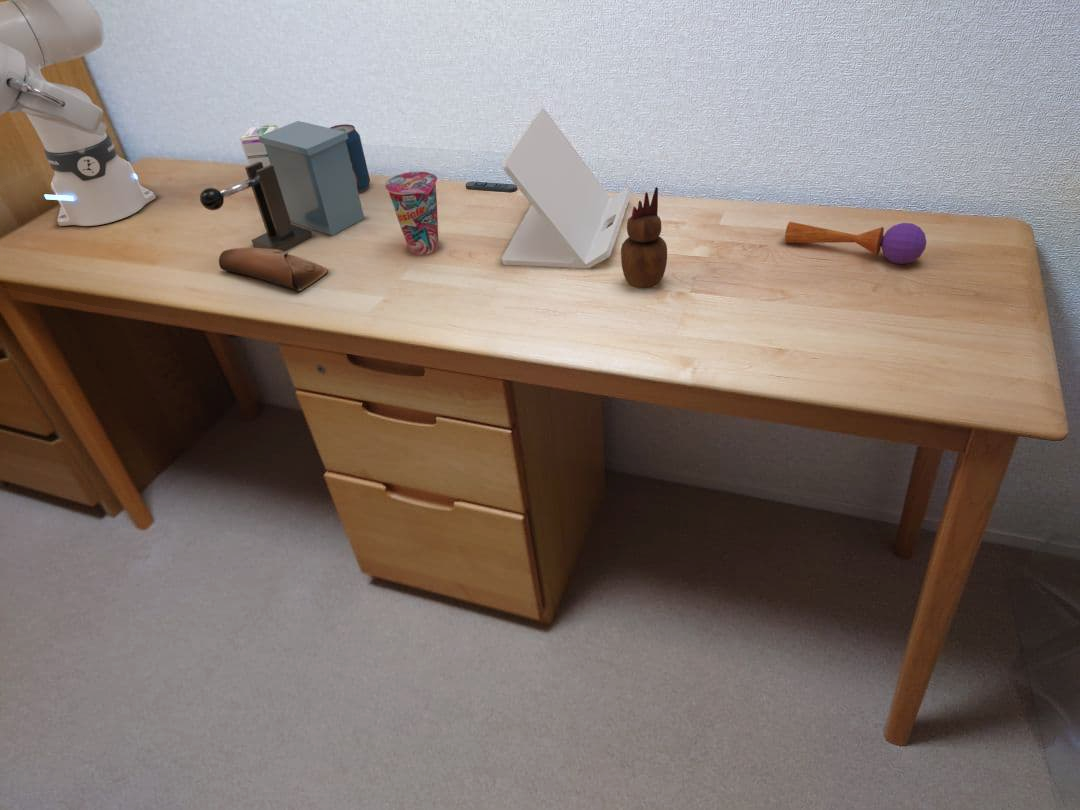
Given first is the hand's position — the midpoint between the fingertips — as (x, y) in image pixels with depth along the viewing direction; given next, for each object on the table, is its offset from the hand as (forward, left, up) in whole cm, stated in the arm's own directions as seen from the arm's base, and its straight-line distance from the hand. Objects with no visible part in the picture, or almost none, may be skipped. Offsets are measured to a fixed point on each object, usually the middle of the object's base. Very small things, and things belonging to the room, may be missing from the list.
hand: (100, 129), depth 108 cm
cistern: (-10, +30, -27) cm, 42 cm away
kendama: (+62, +89, -28) cm, 112 cm away
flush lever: (-5, +16, -17) cm, 24 cm away
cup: (+14, +39, -28) cm, 50 cm away
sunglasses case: (+4, +16, -28) cm, 32 cm away
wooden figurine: (+48, +59, -28) cm, 81 cm away
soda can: (-20, +40, -28) cm, 53 cm away
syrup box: (-24, +26, -28) cm, 45 cm away
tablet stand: (+26, +61, -28) cm, 72 cm away
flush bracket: (-7, +21, -27) cm, 35 cm away
